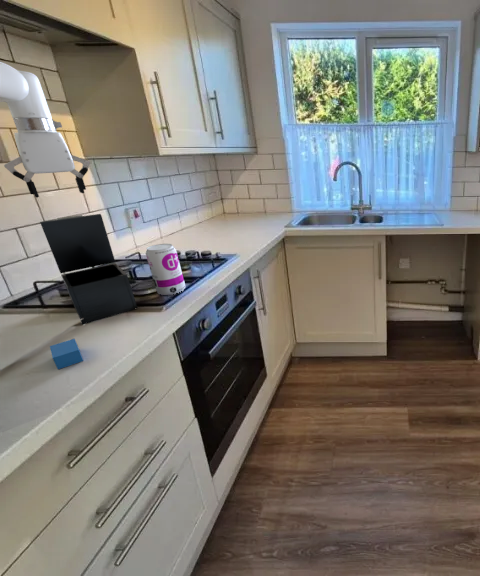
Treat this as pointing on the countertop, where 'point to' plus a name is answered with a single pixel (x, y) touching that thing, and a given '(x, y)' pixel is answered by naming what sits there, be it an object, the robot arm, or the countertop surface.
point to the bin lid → (78, 242)
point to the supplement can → (165, 269)
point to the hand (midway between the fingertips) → (60, 194)
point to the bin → (99, 292)
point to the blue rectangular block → (66, 353)
